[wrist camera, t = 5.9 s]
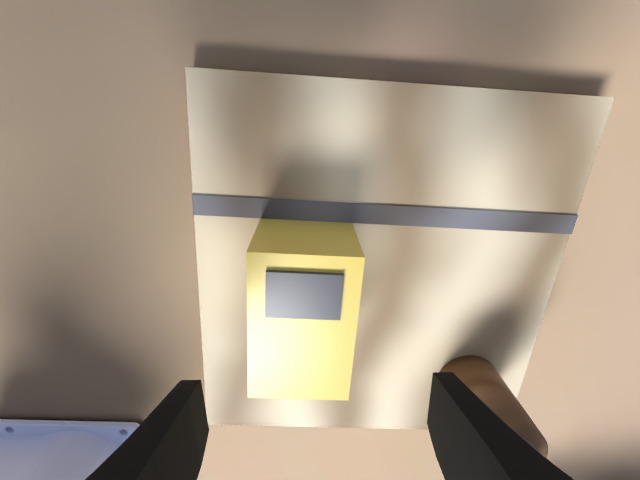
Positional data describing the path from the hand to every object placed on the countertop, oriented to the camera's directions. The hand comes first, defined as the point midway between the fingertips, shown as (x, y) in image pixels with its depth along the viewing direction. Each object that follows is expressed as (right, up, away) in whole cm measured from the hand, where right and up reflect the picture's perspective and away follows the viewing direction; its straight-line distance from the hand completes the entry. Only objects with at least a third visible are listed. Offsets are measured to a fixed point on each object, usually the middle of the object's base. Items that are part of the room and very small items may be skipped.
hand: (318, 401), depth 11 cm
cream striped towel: (+3, +3, +9) cm, 10 cm away
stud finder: (-1, +3, +8) cm, 8 cm away
